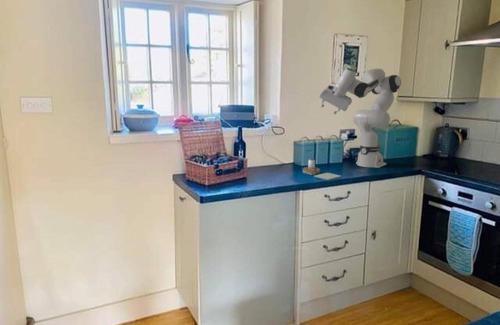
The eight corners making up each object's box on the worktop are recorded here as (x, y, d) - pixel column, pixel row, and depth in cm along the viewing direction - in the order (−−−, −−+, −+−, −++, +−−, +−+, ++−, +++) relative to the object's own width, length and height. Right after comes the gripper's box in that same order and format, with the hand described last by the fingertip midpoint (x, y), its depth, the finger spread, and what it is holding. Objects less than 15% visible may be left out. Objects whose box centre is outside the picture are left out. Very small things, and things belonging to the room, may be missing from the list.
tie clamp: (308, 170, 246) (308, 166, 245) (319, 173, 239) (319, 168, 238) (300, 172, 241) (301, 167, 240) (311, 174, 234) (311, 170, 234)
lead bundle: (310, 171, 242) (311, 158, 240) (315, 173, 239) (316, 159, 237) (306, 172, 240) (307, 159, 238) (311, 173, 237) (312, 160, 235)
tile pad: (327, 173, 238) (327, 172, 238) (341, 176, 230) (341, 175, 230) (313, 176, 230) (313, 175, 230) (328, 180, 222) (328, 179, 222)
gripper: (353, 99, 244) (342, 118, 246) (325, 84, 246) (315, 103, 249) (353, 99, 238) (342, 118, 240) (325, 84, 240) (314, 103, 243)
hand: (328, 110), depth 245 cm, fingers open, 8 cm apart
